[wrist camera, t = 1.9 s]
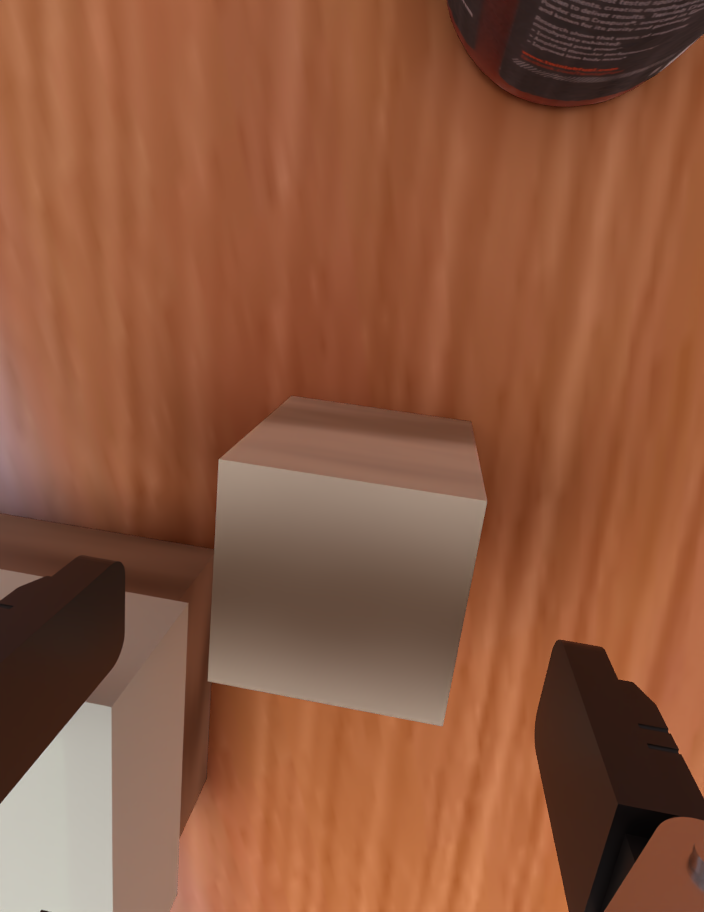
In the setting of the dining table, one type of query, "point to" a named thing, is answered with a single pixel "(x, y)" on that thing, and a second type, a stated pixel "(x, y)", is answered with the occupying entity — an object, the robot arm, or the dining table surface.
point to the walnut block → (146, 573)
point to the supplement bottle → (575, 44)
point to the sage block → (106, 782)
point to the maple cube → (346, 557)
